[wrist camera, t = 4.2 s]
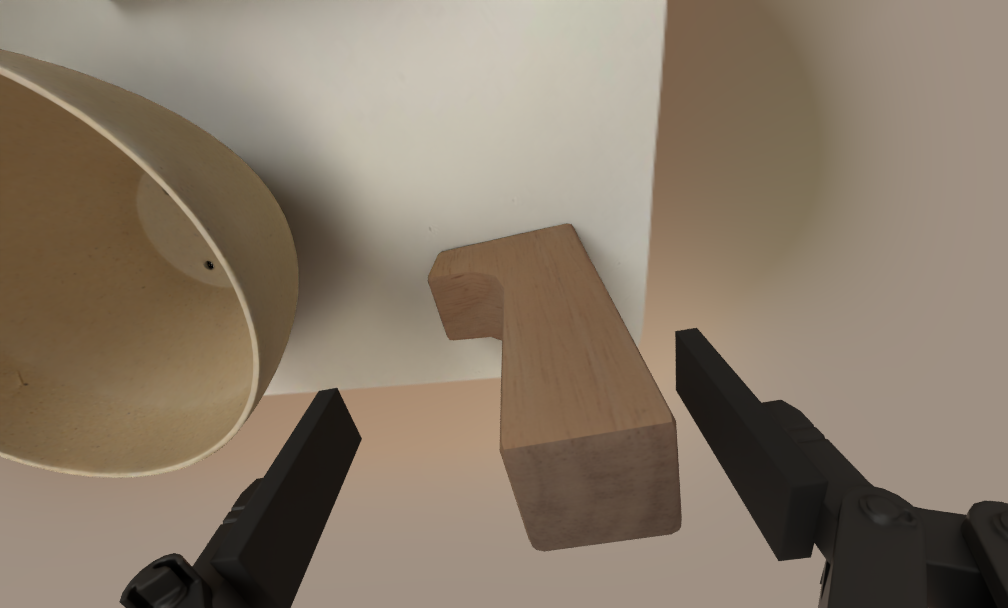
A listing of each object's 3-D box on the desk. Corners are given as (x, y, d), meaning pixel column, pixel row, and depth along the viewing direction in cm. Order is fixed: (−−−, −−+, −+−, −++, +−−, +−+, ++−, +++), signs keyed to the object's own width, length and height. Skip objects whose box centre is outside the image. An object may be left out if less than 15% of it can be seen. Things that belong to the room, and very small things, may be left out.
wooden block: (456, 309, 28) (388, 578, 12) (436, 250, 27) (326, 478, 10) (582, 283, 27) (687, 538, 11) (572, 220, 26) (681, 420, 9)
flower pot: (79, 299, 28) (-188, 421, 17) (43, 4, 21) (-468, -104, 10) (334, 372, 31) (240, 517, 20) (386, 135, 23) (280, 163, 13)
